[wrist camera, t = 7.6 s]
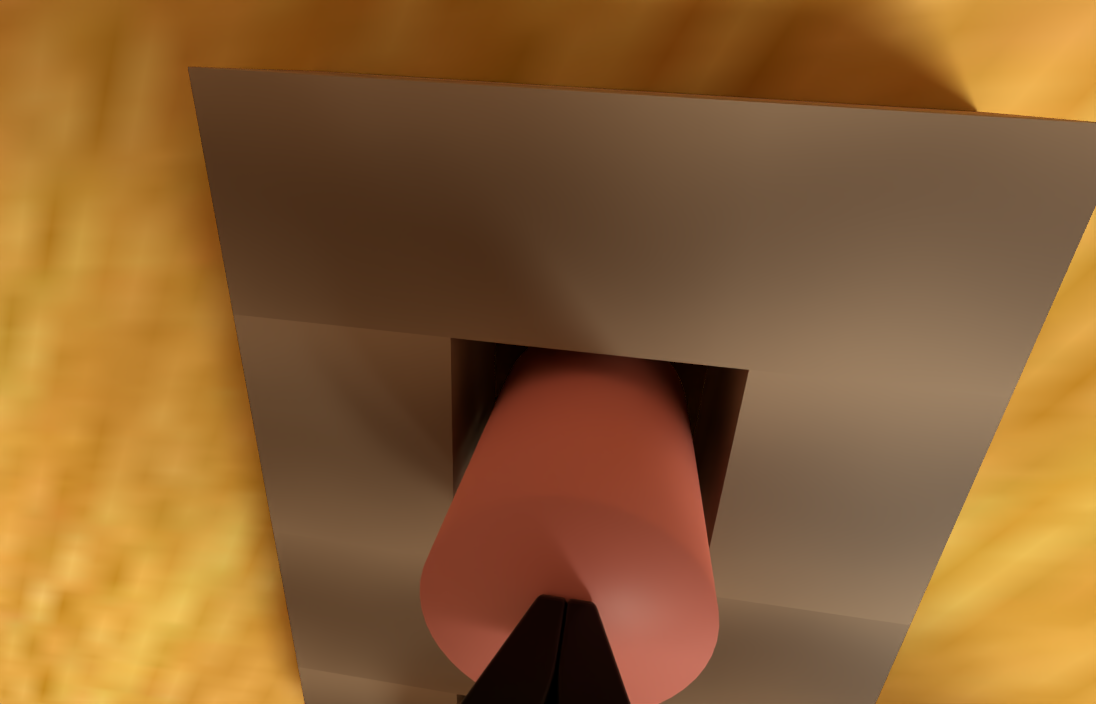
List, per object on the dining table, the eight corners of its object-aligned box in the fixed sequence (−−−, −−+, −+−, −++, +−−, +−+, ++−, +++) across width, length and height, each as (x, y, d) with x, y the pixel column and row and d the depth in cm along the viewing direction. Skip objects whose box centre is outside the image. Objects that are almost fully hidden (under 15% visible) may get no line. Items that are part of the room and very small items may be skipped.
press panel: (744, 809, 22) (765, 952, 18) (381, 743, 23) (334, 864, 20) (979, 111, 12) (1130, 125, 8) (311, 70, 13) (188, 66, 10)
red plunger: (672, 497, 15) (692, 738, 9) (500, 475, 15) (424, 691, 10) (701, 336, 13) (746, 520, 8) (504, 316, 13) (412, 475, 8)
